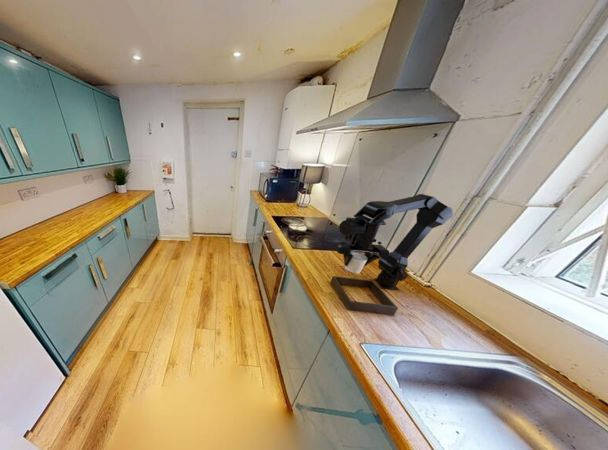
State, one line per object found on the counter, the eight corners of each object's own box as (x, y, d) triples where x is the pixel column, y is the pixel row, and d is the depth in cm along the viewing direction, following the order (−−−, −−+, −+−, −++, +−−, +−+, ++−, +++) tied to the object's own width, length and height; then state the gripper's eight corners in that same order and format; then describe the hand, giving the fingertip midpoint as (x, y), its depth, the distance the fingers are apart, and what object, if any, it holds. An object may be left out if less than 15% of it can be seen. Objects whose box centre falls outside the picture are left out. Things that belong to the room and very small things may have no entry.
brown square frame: (369, 287, 89) (372, 280, 87) (393, 315, 74) (398, 307, 73) (330, 282, 90) (332, 275, 89) (346, 309, 76) (350, 302, 75)
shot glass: (365, 275, 81) (371, 261, 78) (347, 273, 82) (352, 259, 79) (357, 265, 87) (362, 252, 84) (340, 263, 88) (345, 250, 86)
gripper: (378, 227, 84) (365, 257, 91) (332, 224, 86) (322, 254, 92) (397, 239, 74) (381, 272, 81) (345, 235, 76) (333, 268, 82)
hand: (353, 266), depth 84 cm, fingers closed on shot glass, 6 cm apart
